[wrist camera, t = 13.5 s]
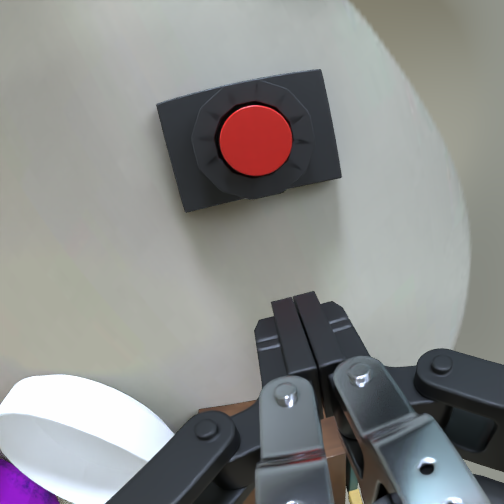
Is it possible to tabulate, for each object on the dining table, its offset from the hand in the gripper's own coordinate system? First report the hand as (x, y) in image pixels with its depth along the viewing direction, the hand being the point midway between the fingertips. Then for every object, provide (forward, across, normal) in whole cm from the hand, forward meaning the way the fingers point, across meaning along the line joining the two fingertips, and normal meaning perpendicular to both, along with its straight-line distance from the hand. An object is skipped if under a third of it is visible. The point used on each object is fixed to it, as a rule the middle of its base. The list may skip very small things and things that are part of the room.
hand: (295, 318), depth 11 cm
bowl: (+12, +21, +16) cm, 29 cm away
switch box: (+11, -1, -5) cm, 13 cm away
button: (+9, -1, -6) cm, 10 cm away
